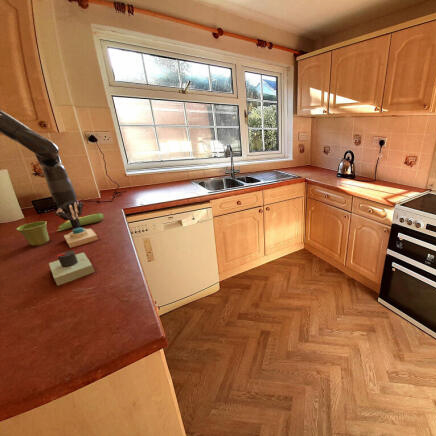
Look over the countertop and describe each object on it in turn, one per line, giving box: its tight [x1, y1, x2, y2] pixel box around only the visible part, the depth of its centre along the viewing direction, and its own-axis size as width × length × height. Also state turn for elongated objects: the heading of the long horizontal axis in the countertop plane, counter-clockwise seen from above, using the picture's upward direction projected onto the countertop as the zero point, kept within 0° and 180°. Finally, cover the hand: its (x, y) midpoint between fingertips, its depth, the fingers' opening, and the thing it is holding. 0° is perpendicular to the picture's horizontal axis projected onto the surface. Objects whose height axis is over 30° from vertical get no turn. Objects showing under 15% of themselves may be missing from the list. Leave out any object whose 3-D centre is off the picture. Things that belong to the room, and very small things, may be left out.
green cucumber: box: [56, 212, 105, 232], centre depth 126 cm, size 5×20×5 cm, turn 135°
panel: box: [48, 251, 96, 287], centre depth 86 cm, size 14×10×3 cm
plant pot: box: [16, 220, 50, 247], centre depth 107 cm, size 9×9×9 cm
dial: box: [56, 250, 78, 267], centre depth 85 cm, size 4×4×4 cm
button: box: [72, 226, 84, 234], centre depth 109 cm, size 4×4×2 cm
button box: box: [63, 228, 99, 249], centre depth 110 cm, size 12×10×4 cm
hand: (76, 226), depth 109 cm, fingers closed
